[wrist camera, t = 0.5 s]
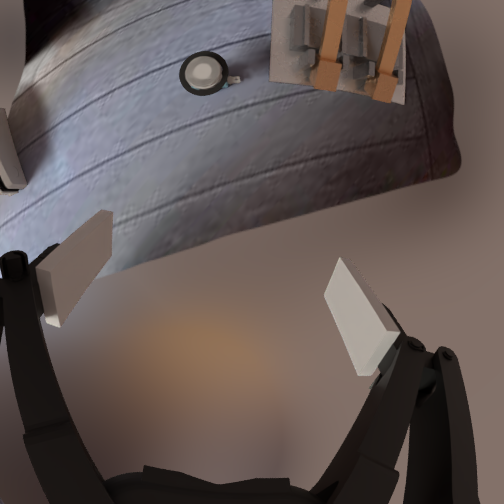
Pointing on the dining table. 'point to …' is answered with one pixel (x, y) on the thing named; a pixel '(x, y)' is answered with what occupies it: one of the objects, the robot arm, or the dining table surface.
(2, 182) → the pale grey rounded block
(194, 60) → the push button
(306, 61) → the heatsink base
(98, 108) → the dining table surface
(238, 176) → the dining table surface
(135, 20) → the dining table surface
